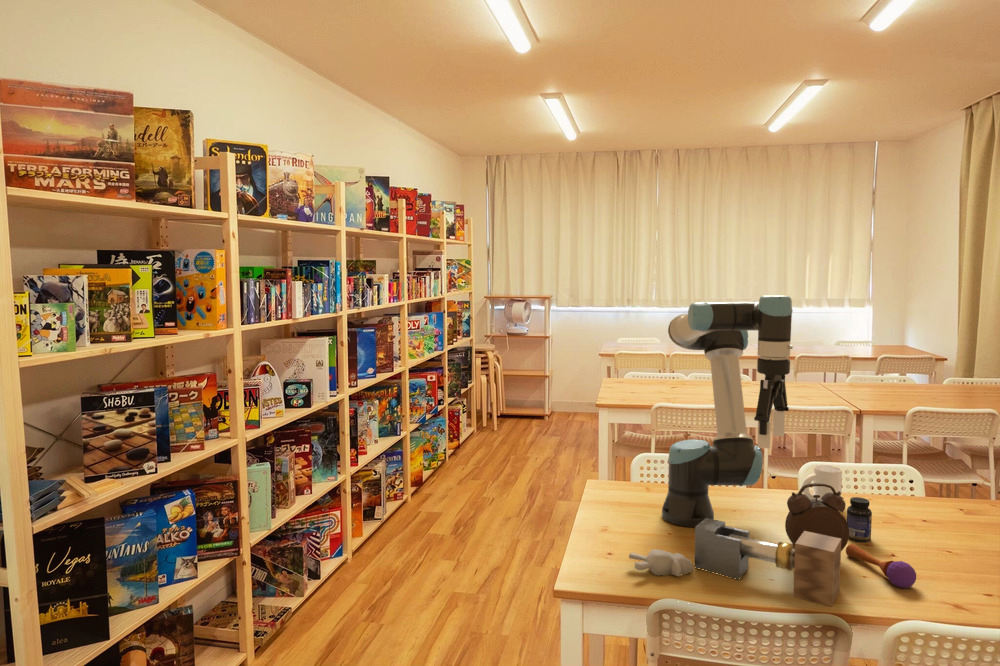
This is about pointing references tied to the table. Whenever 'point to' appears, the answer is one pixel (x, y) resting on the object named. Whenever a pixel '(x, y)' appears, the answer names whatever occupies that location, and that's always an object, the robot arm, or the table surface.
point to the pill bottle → (859, 520)
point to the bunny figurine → (663, 563)
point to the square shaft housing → (719, 548)
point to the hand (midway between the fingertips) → (771, 441)
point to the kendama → (887, 567)
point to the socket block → (817, 568)
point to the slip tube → (768, 551)
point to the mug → (824, 480)
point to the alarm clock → (817, 515)
